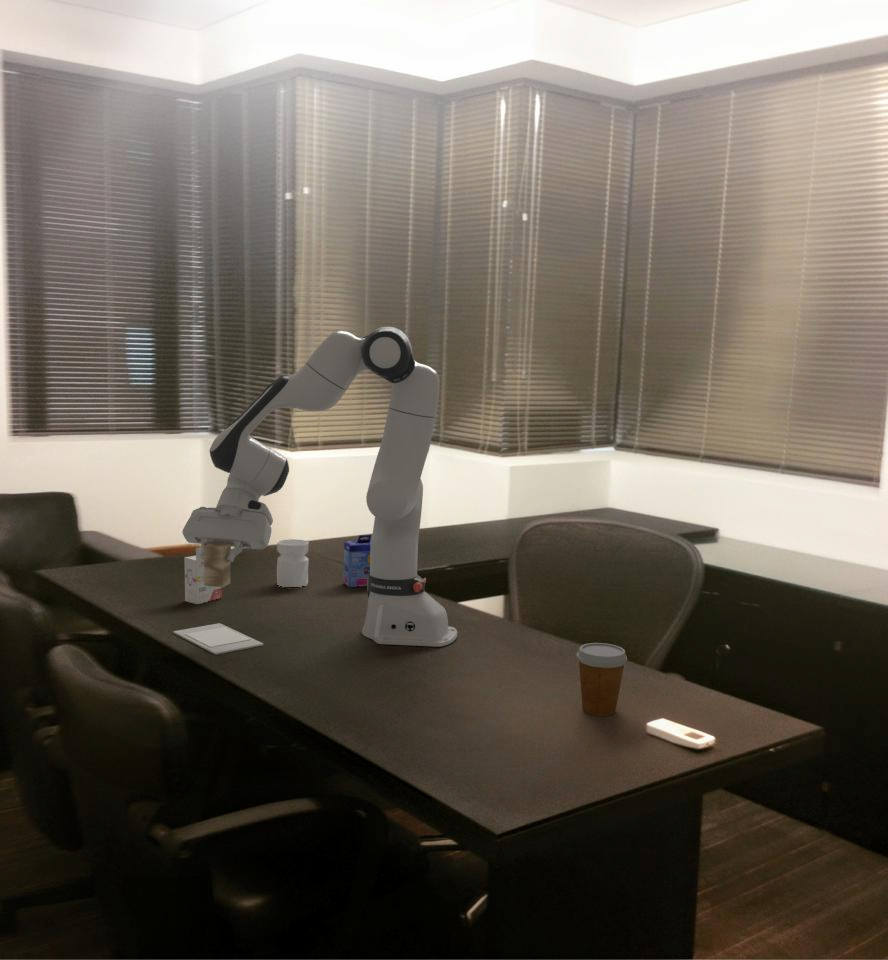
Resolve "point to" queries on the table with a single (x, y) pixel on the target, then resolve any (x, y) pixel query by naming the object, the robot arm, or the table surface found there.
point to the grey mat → (218, 638)
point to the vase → (292, 563)
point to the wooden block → (216, 565)
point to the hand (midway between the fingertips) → (216, 559)
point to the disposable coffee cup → (600, 677)
